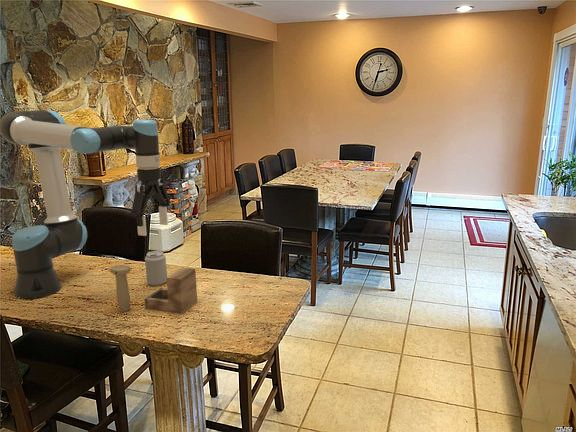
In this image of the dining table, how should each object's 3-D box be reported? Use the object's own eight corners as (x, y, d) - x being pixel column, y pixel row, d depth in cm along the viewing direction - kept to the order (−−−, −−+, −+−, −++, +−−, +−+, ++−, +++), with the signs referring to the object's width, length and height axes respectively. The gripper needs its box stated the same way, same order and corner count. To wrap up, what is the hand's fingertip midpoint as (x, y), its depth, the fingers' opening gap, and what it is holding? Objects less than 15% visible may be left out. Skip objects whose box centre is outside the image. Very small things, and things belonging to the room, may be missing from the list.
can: (142, 285, 177) (140, 254, 174) (155, 278, 183) (152, 249, 180) (159, 287, 174) (156, 257, 171) (171, 280, 181) (169, 251, 178)
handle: (129, 314, 153) (124, 271, 149) (111, 312, 154) (107, 269, 150) (137, 308, 157) (133, 265, 153) (120, 306, 159) (115, 264, 155)
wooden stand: (145, 308, 157) (142, 275, 154) (162, 296, 166) (159, 264, 163) (182, 313, 152) (180, 279, 150) (197, 301, 162) (195, 268, 159)
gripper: (137, 174, 142) (142, 241, 147) (177, 163, 165) (181, 221, 170) (115, 173, 144) (122, 239, 149) (158, 162, 167) (162, 219, 172)
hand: (153, 229), depth 159 cm, fingers open, 13 cm apart
